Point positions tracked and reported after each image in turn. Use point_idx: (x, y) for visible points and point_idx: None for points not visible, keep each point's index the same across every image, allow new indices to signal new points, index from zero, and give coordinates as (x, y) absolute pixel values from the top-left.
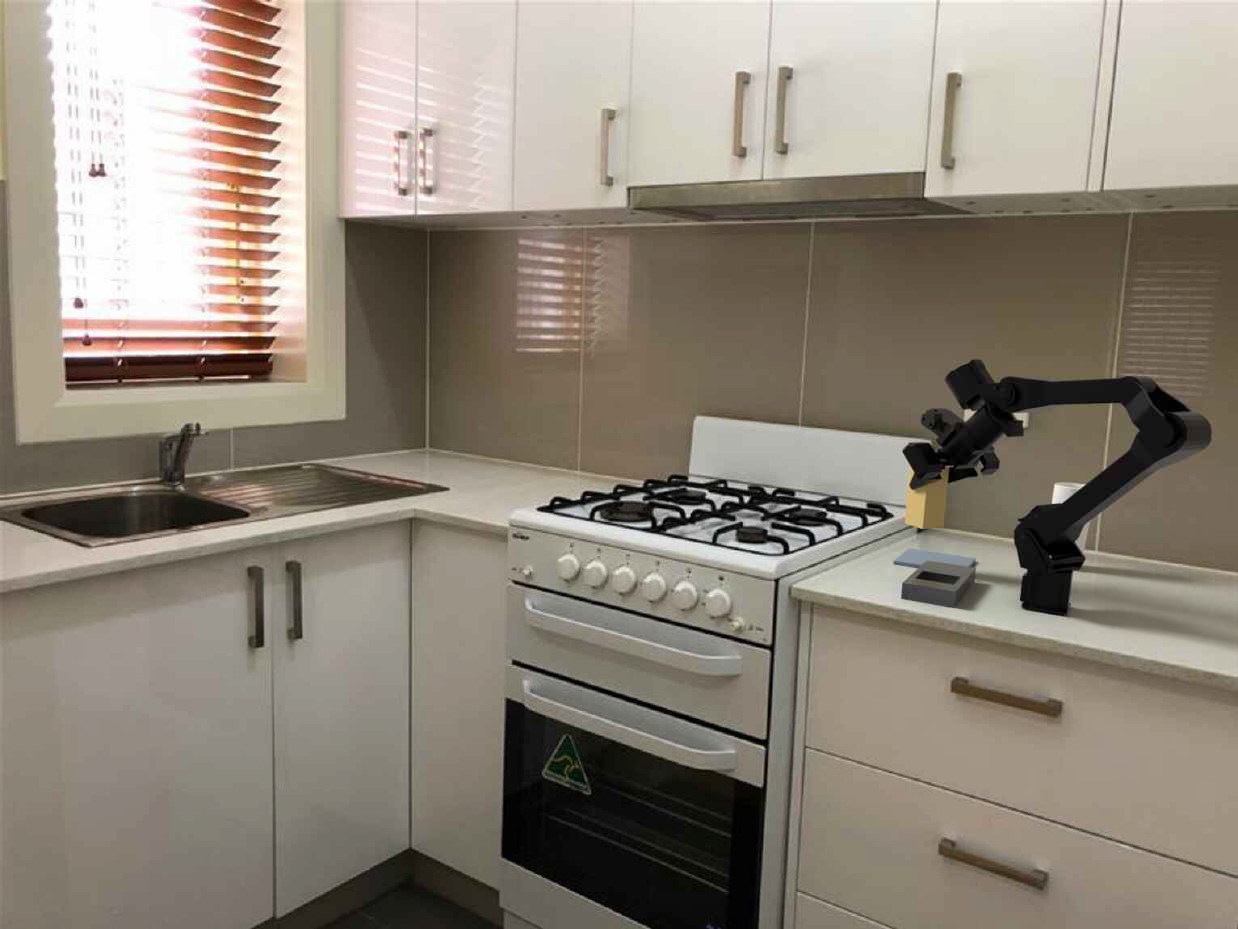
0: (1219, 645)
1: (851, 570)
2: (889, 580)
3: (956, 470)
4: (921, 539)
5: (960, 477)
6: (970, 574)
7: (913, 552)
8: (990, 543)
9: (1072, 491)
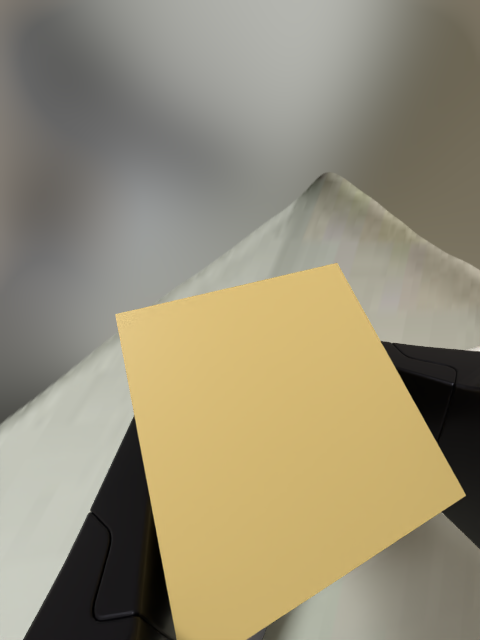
0: None
1: (49, 440)
2: None
3: (475, 484)
4: (295, 222)
5: (456, 518)
6: (264, 633)
7: None
8: (387, 244)
9: None
